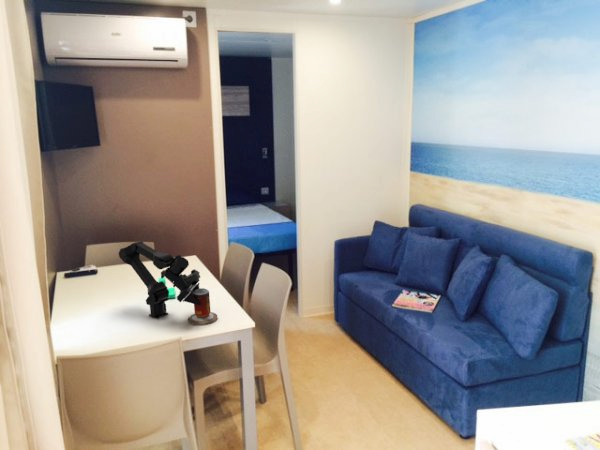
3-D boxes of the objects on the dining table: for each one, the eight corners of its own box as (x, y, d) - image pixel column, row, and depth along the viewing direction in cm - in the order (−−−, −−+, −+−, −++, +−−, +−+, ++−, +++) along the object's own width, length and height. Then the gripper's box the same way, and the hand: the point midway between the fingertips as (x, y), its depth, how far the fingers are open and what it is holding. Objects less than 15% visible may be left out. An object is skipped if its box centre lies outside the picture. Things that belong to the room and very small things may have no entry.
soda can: (198, 312, 231) (196, 287, 228) (213, 313, 230) (211, 288, 227) (192, 318, 225) (190, 292, 222) (207, 319, 223) (205, 293, 220)
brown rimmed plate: (201, 327, 218) (201, 324, 218) (182, 321, 226) (182, 318, 226) (223, 318, 228) (223, 315, 228) (204, 312, 236) (204, 309, 236)
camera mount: (175, 299, 257) (174, 279, 255) (160, 301, 255) (158, 281, 253) (175, 292, 268) (173, 273, 266) (160, 293, 266) (158, 275, 264)
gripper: (182, 272, 213) (209, 296, 215) (193, 260, 232) (218, 283, 233) (165, 289, 216) (192, 314, 217) (178, 276, 234) (203, 299, 235)
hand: (202, 301), depth 226 cm, fingers closed on soda can, 7 cm apart
